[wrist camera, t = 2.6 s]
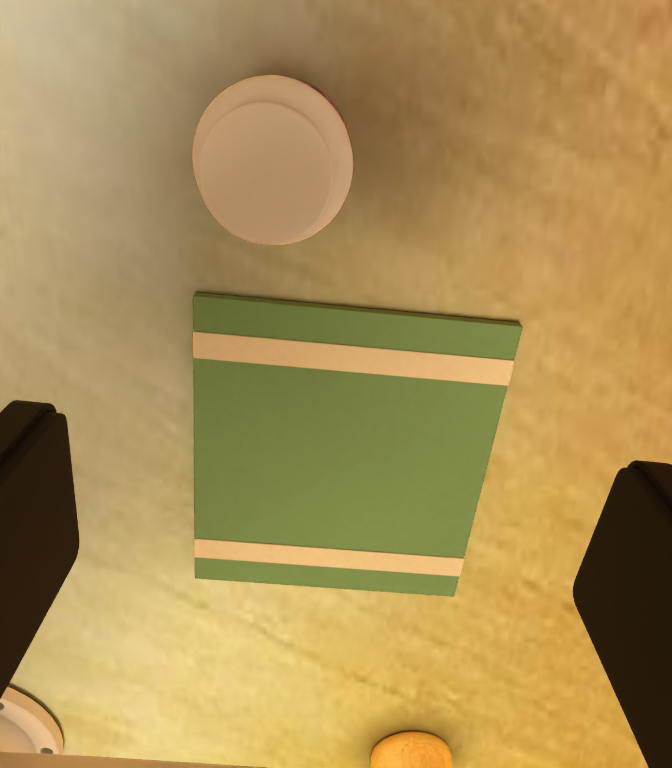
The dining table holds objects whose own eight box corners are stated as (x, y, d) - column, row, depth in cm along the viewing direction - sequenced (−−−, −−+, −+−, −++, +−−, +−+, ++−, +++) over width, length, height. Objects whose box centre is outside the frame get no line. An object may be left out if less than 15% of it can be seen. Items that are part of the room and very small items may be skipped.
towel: (196, 571, 37) (194, 579, 36) (195, 291, 29) (192, 296, 28) (452, 589, 38) (454, 598, 37) (519, 322, 30) (523, 327, 29)
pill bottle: (352, 206, 27) (361, 263, 19) (234, 213, 27) (188, 274, 19) (345, 71, 25) (351, 65, 16) (216, 81, 25) (153, 80, 16)
